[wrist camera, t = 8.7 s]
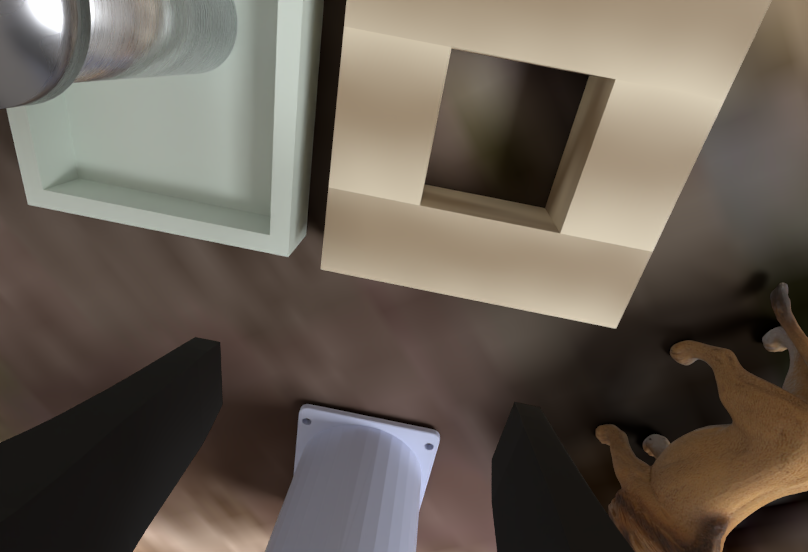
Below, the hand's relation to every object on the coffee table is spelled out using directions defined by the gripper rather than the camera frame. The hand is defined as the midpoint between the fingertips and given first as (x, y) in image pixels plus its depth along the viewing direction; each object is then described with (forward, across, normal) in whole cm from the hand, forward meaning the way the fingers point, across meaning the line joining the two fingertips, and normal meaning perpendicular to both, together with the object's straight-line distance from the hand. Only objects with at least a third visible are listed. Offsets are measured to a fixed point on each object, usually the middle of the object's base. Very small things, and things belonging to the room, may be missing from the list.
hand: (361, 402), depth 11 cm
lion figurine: (+10, -15, +6) cm, 19 cm away
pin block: (+10, -3, -5) cm, 12 cm away
